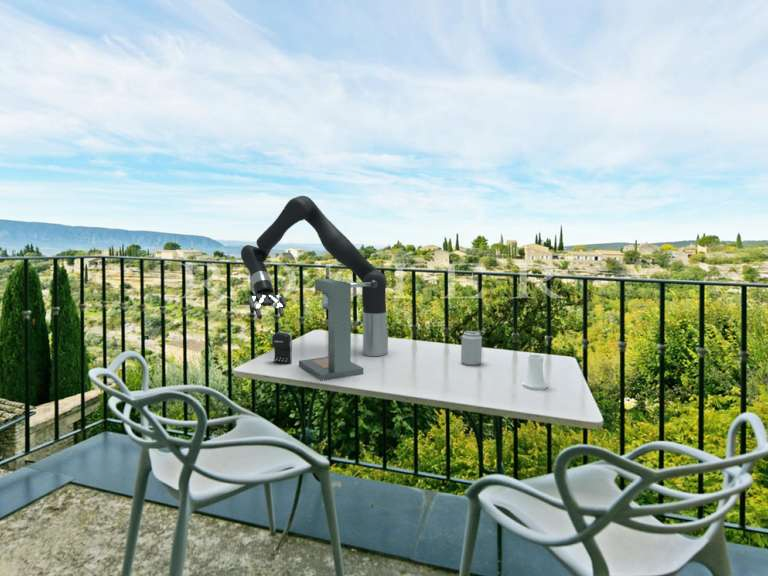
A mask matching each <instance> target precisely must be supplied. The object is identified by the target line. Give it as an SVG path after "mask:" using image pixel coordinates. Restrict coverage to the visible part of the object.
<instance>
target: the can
mask: <svg viewBox="0 0 768 576" xmlns="http://www.w3.org/2000/svg"><path fill="white" fill-rule="evenodd" d="M482 342H483V338H482V336H481V332H478V331H473V330H470V331H469V330H467V331H463V334H462V335H461V348H460V349H461V350H460V362H462V364H463V365H465V366H471V367H472V366H478V365H480V364H481V363H482V345H483V343H482Z"/></svg>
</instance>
